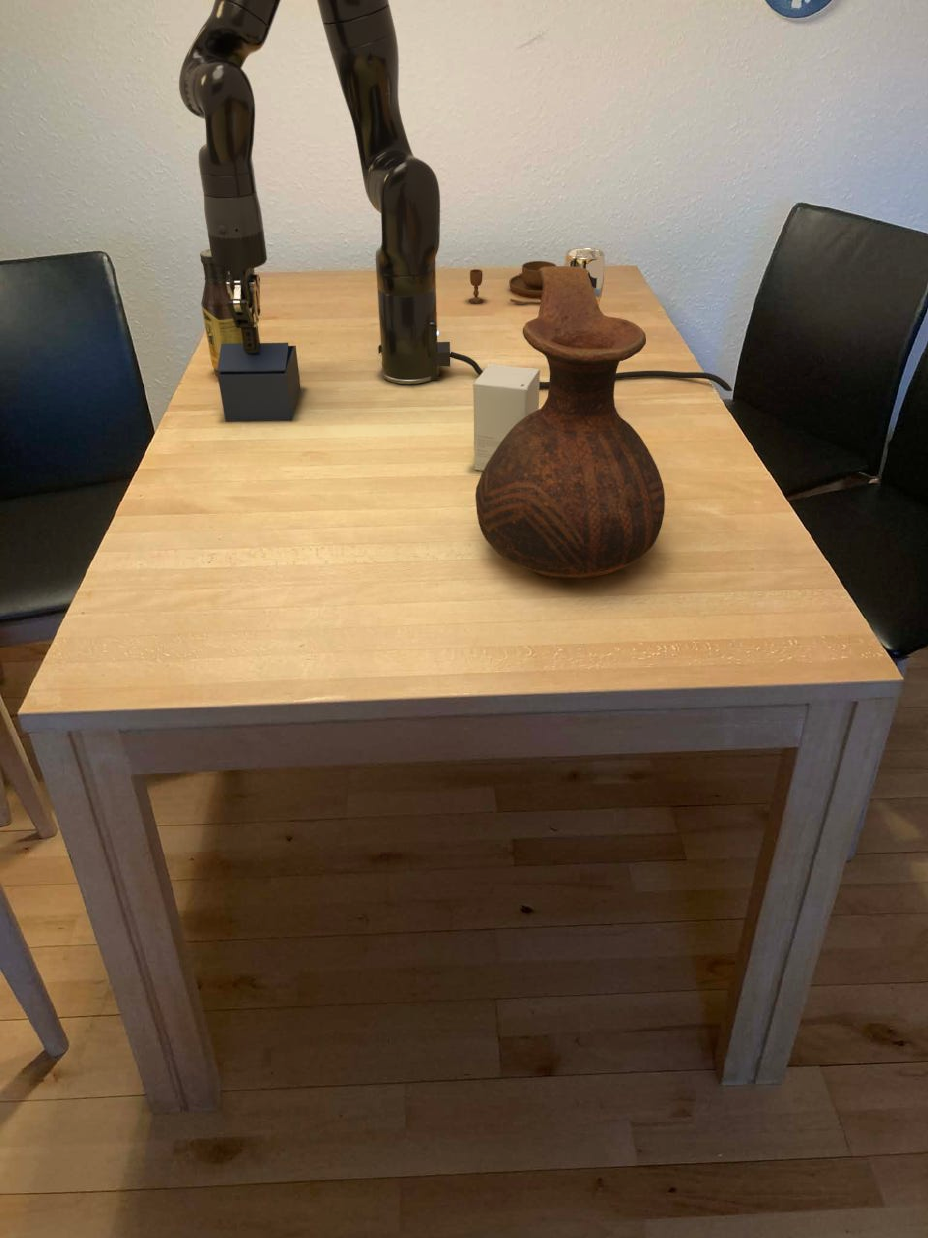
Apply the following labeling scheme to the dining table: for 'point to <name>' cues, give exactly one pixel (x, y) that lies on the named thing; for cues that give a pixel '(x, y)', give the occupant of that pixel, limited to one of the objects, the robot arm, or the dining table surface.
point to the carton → (261, 393)
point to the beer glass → (589, 266)
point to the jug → (573, 449)
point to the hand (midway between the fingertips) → (252, 350)
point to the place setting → (517, 282)
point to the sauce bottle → (217, 309)
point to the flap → (252, 358)
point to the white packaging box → (501, 406)
